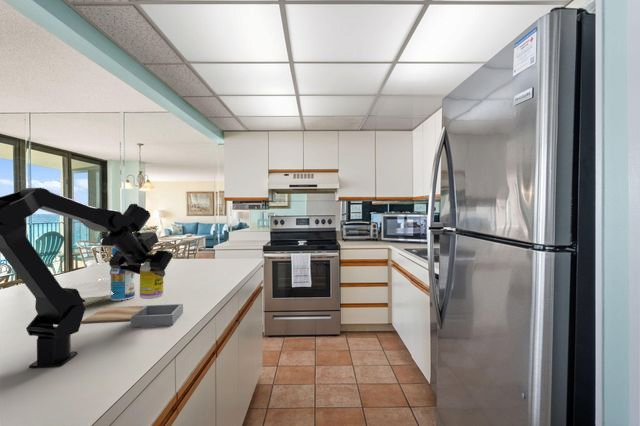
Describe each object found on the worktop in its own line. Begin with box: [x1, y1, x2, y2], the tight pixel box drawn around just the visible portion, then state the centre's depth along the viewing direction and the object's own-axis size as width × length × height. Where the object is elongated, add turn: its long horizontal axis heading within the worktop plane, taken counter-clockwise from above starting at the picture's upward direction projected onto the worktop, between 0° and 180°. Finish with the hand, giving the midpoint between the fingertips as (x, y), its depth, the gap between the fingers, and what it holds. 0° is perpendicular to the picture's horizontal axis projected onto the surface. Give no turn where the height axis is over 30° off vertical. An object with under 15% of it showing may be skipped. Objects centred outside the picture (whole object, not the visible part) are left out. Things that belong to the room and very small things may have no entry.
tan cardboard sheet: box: [81, 305, 145, 324], centre depth 106 cm, size 14×14×1 cm
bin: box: [130, 303, 184, 328], centre depth 101 cm, size 12×12×3 cm
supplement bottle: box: [139, 262, 164, 300], centre depth 103 cm, size 7×7×13 cm
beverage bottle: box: [109, 246, 136, 302], centre depth 126 cm, size 8×8×20 cm
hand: (154, 275), depth 104 cm, fingers closed on supplement bottle, 6 cm apart
